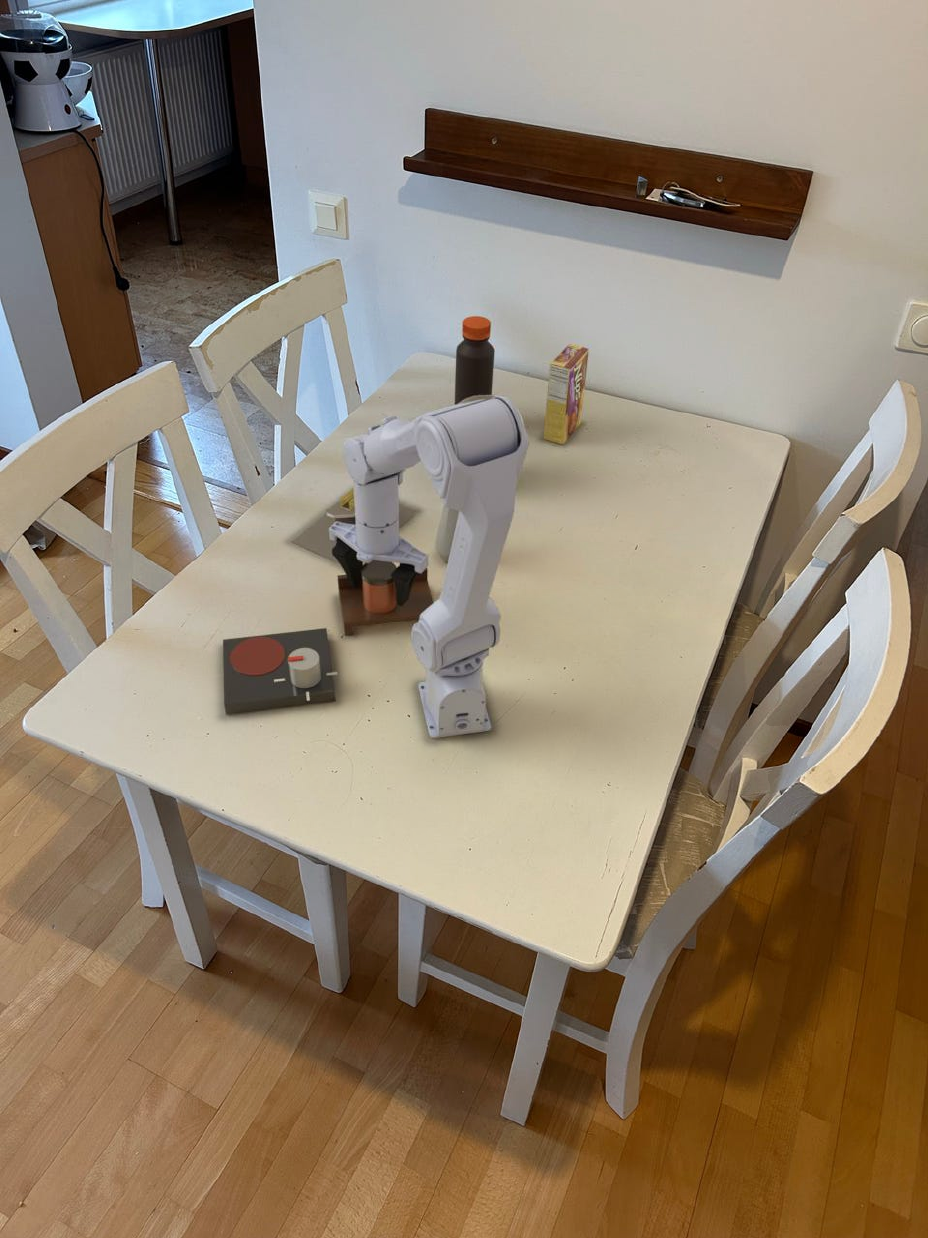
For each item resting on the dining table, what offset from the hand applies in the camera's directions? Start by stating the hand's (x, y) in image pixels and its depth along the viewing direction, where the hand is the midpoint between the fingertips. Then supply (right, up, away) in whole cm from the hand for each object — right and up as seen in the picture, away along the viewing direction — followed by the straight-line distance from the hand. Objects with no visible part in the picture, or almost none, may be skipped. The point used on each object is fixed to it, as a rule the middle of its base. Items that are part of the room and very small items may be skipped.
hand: (379, 592), depth 129 cm
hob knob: (-9, -11, -9) cm, 17 cm away
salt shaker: (+10, +6, +13) cm, 18 cm away
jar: (0, -1, +1) cm, 2 cm away
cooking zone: (-16, -9, -7) cm, 19 cm away
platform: (-5, +11, +18) cm, 22 cm away
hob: (-13, -11, -6) cm, 18 cm away
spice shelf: (+1, -3, +3) cm, 4 cm away
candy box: (+30, +31, +42) cm, 60 cm away
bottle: (+13, +33, +42) cm, 55 cm away
